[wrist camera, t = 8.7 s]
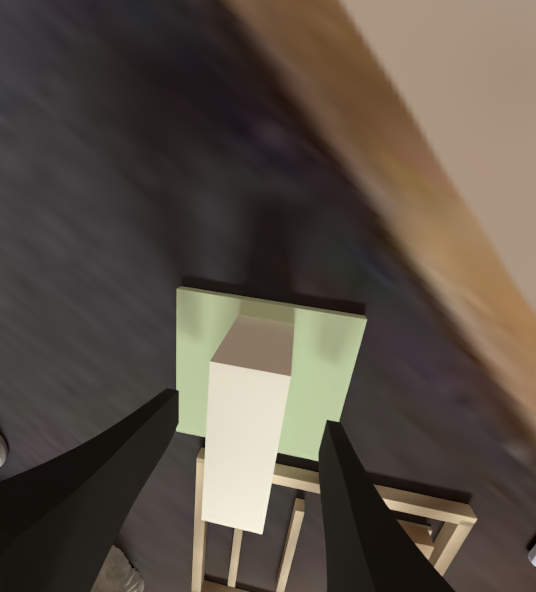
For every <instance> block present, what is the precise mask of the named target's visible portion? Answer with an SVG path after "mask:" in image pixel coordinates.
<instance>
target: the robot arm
mask: <svg viewBox="0 0 536 592" xmlns="http://www.w3.org/2000/svg"><path fill="white" fill-rule="evenodd" d="M178 423H179V390H174V389H169V388H167V389H165V390H164V391H162V392H161V393H160V394H158V395H157V396H155V397H154V398H153V399H151V400H150V401H149V402H147V403H146V404H144V405H143V406H142V407H140V408H139V409H137V410H136V411H135V412H133V413H132V414H130V415H129V416H127V417H126V418H124V419H123V420H121V421H120V422H118V423H117V424H115V425H114V426H112V427H111V428H109V429H107V430H106V431H104V432H103V433H101V434H99V435H98V436H96V437H94V438H92V439H91V440H89V441H87V442H85V443H83V444H82V445H80V446H78V447H76V448H74V449H72V450H70V451H68V452H66V453H64V454H62V455H60V456H58V457H56V458H54V459H52V460H50V461H48V462H46V463H43V464H41V465H39V466H37V467H34V468H32V469H30V470H28V471H25V472H23V473H20V474H18V475H16V476H13V477H11V478H8V479H6V480H3V481H1V482H0V592H91V590H92V587H93V585H94V583H95V581H96V579H97V577H98V574H99V572H100V570H101V568H102V566H103V564H104V562H105V559H106V557H107V555H108V553H109V551H110V549H111V547H112V545H113V543H114V541H115V539H116V537H117V535H118V533H119V531H120V529H121V527H122V525H123V523H124V521H125V519H126V517H127V515H128V513H129V511H130V509H131V507H132V505H133V503H134V501H135V500H136V498H137V496H138V494H139V493H140V491H141V489H142V488H143V486H144V484H145V483H146V481H147V480H148V478H149V476H150V475H151V473H152V471H153V470H154V468H155V466H156V465H157V463H158V462H159V460H160V458H161V457H162V455H163V453H164V452H165V450H166V448H167V447H168V445H169V443H170V441H171V439H172V437H173V435H174V432H175V430H176V428H177V426H178ZM318 460H319V485H320V495H321V504H322V513H323V522H324V531H325V542H326V559H327V592H455V591H454V590H453V588H452V587H451V586H450V585H449V584H448V583H447V582H446V580H445V579H444V578H443V577H442V576H441V575H440V574H439V572H438V571H437V570H436V569H435V568H434V567H433V565H432V564H431V563H430V562H429V561H428V559H427V558H426V557H425V556H424V554H423V553H422V552H421V551H420V549H419V548H418V547H417V546H416V544H415V543H414V542H413V541H412V539H411V538H410V537H409V535H408V534H407V533H406V531H405V530H404V529H403V527H402V526H401V525H400V523H399V522H398V521H397V519H396V518H395V516H394V515H393V513H392V512H391V511H390V509H389V508H388V506H387V505H386V503H385V502H384V500H383V499H382V497H381V496H380V494H379V492H378V491H377V489H376V488H375V486H374V484H373V483H372V481H371V479H370V478H369V476H368V474H367V473H366V471H365V469H364V467H363V466H362V464H361V462H360V460H359V458H358V457H357V455H356V453H355V451H354V449H353V447H352V445H351V443H350V441H349V439H348V437H347V435H346V433H345V431H344V428H343V426H342V424H341V423H340V422H336V421H331V420H327V421H326V425H325V429H324V433H323V436H322V440H321V444H320V448H319V452H318ZM528 558H529V560H530V561H531V563H532V564H533V565H534V566H536V544H535V545H534V547H533V548H532V549H531V551H530V552H529V553H528Z"/></svg>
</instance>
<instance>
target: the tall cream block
mask: <svg viewBox="0 0 536 592" xmlns="http://www.w3.org/2000/svg"><path fill="white" fill-rule="evenodd" d="M294 327H295V324H294V323H288V322H282V321H276V320H270V319H264V318H258V317H252V316H246V315H240V314H239V315H238V317H237V318H236V320H235V321H234V323H233V325H232V326H231V328H230V330H229V331H228V333H227V334H226V336H225V338H224V339H223V341H222V342H221V344H220V346H219V347H218V349H217V351H216V352H215V354H214V355H213V357H212V359H211V360H210V366H209V385H208V404H207V423H206V441H205V460H204V479H203V497H202V516H201V520H204V521H208V522H212V523H217V524H221V525H225V526H229V527H233V528H238V529H242V530H246V531H250V532H254V533H259V534H262V533H263V528H264V522H265V517H266V511H267V506H268V500H269V495H270V489H271V484H272V478H273V473H274V467H275V462H276V456H277V451H278V445H279V440H280V434H281V429H282V423H283V418H284V412H285V407H286V401H287V396H288V390H289V385H290V379H291V370H292V356H293V341H294Z"/></svg>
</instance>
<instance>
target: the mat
mask: <svg viewBox="0 0 536 592" xmlns="http://www.w3.org/2000/svg"><path fill="white" fill-rule="evenodd" d="M239 314H240V315H246V316H252V317H258V318H264V319H270V320H276V321H282V322H288V323H294V324H295V327H294V341H293V356H292V370H291V379H290V385H289V390H288V396H287V401H286V407H285V412H284V418H283V423H282V429H281V434H280V440H279V445H278V451H277V452H278V453H282V454H287V455H292V456H297V457H301V458H306V459H311V460H316V461H319V460H318V452H319V448H320V444H321V440H322V436H323V433H324V429H325V425H326V421H327V420H331V421H336V422H339V419H340V416H341V412H342V409H343V405H344V401H345V398H346V394H347V391H348V387H349V383H350V380H351V376H352V372H353V369H354V365H355V362H356V358H357V354H358V351H359V347H360V344H361V340H362V336H363V333H364V329H365V325H366V322H367V318H366V317H365V316H364V315H358V314H351V313H345V312H339V311H333V310H326V309H320V308H314V307H308V306H302V305H295V304H289V303H283V302H277V301H270V300H264V299H258V298H252V297H245V296H239V295H233V294H227V293H221V292H214V291H208V290H202V289H196V288H189V287H183V286H180V287H179V288H177V336H176V390H179V423H178V426H177V428H176V431H178V432H182V433H187V434H192V435H197V436H201V437H206V423H207V404H208V385H209V366H210V360H211V359H212V357H213V355H214V354H215V352H216V351H217V349H218V347H219V346H220V344H221V342H222V341H223V339H224V338H225V336H226V334H227V333H228V331H229V330H230V328H231V326H232V325H233V323H234V321H235V320H236V318H237V317H238V315H239Z"/></svg>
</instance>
